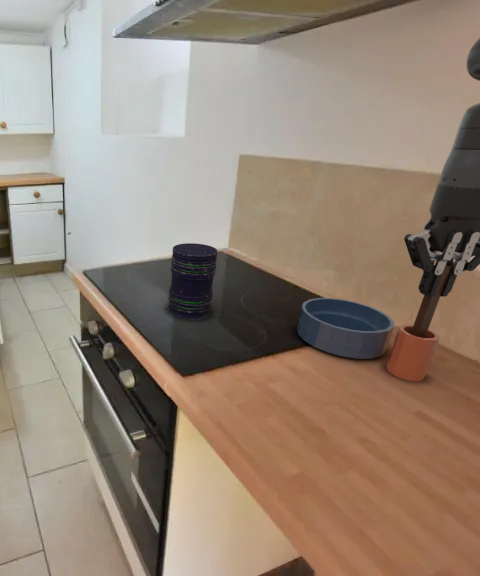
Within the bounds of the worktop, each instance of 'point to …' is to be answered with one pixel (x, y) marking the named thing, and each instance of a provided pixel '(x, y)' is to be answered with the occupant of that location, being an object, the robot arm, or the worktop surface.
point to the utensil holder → (411, 354)
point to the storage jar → (192, 280)
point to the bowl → (345, 328)
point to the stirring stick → (429, 308)
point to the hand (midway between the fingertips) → (432, 294)
